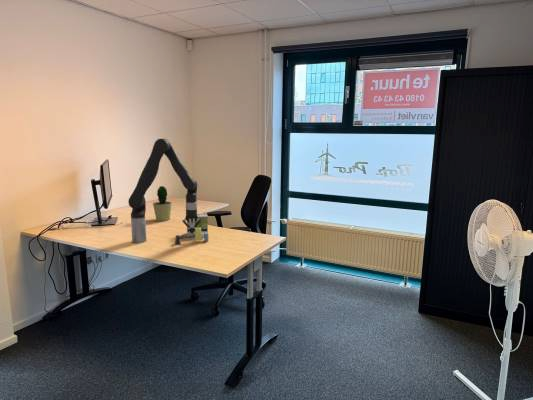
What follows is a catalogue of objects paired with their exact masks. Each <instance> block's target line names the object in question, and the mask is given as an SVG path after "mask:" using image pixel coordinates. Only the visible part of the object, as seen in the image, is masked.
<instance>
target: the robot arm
mask: <svg viewBox="0 0 533 400" xmlns="http://www.w3.org/2000/svg"><path fill="white" fill-rule="evenodd" d="M164 155H165V156H166V158H167V159H168V161H169V163H170V165H171V167H172V169H173V171H174V172H175V174H176V175H177V177H178V178H179V179H180V182H181V184H182V186H183V187H184V189H186V193H185V194H186V195H185V218H184V219H182V220H181V221H182V223H183V224H184V225H185V226H186V228H187V227H189V228H190V233H193V232H194V227H197V225H198V224H199V223H200V221H201V220H200V219H199V218H198V217H197V214H198V204H197V194H198V193H197V192H198V182H197V180H196V179H195V178H192V177H190V174H189V171H188V170H187V168H186V166H184V164H183V162H182V161H181V160H180V158H179V157H178V155H177V153H176V151H175V150H174V148H173V146H172V144H171V141H169V140H168V139H167V138H158V139H156V141H154V144H153V146H152V150H151V152H150V155H149V157H148V159H147V161H146V163H145V165H144V167H143V169H142V171H141V173H140V176H139V178H138V181H137V184H136V186H135V188H134V190H133V192H132V193H131V195H130V196H129V198H128V203H127V204H128V206H129V207H130V208H131V209H132V210H131V213H130V220H131V221H130V222H131V240H132V241H131V242H132V244H139V243H144V242H145V243H146V242H147V227H146V226H147V225H146V211H147V210H146V209H147V208H146V207H147V206H146V204H147V203H146V197H145V195H146V192H147V191H148V190H149V188H150V187H151V185H153V183H154V181H155V179H156V177H157V174H158V172H159V168H160V162H161V160H162V158H163V156H164ZM196 220H197V222H196ZM187 222H188V223H189V225H188V224H187ZM195 222H196V224H195V225H194V223H195ZM191 223H192V225H191Z"/></svg>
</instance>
